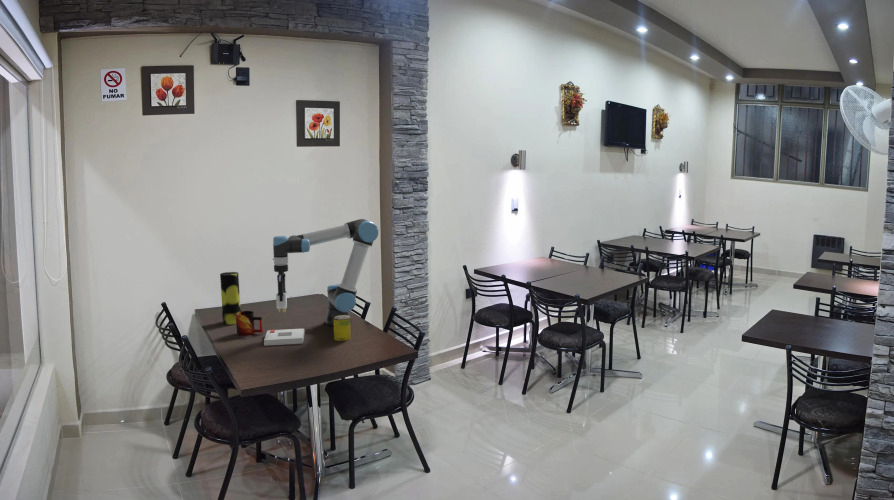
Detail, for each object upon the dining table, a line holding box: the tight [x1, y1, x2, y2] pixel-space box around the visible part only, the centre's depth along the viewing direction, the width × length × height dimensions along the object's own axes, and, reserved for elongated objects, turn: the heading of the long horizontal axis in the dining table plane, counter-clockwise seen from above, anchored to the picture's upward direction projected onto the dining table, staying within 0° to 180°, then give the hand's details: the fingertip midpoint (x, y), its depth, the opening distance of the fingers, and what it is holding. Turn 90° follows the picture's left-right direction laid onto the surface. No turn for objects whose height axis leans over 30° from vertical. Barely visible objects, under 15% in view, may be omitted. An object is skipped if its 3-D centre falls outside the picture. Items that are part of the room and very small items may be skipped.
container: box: [219, 271, 242, 326], centre depth 370 cm, size 11×11×30 cm
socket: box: [263, 328, 305, 347], centre depth 338 cm, size 20×18×4 cm
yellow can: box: [333, 315, 352, 342], centre depth 339 cm, size 9×9×12 cm
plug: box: [275, 292, 288, 313], centre depth 342 cm, size 5×4×10 cm
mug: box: [235, 310, 264, 337], centre depth 349 cm, size 10×14×12 cm
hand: (282, 305), depth 343 cm, fingers closed on plug, 4 cm apart
